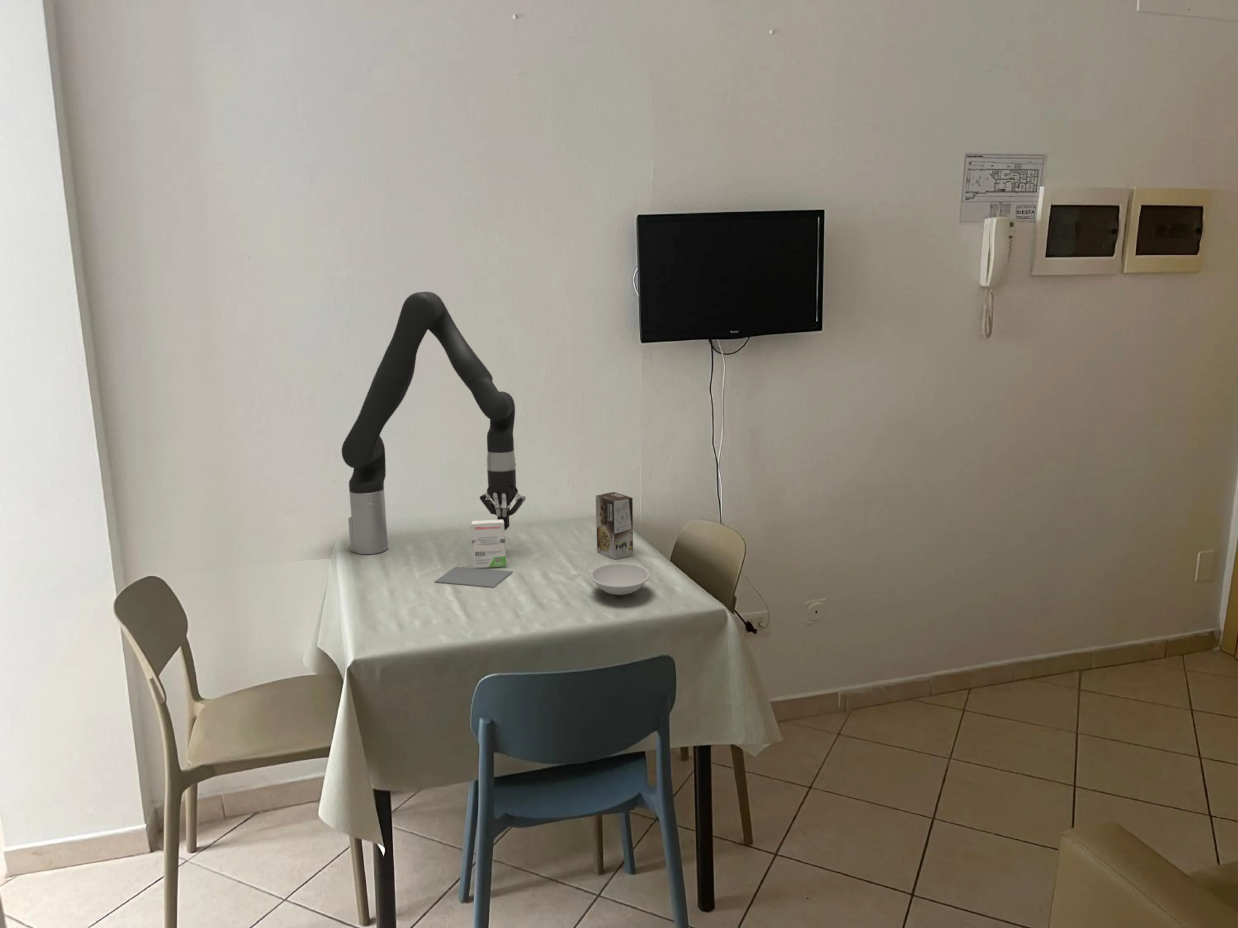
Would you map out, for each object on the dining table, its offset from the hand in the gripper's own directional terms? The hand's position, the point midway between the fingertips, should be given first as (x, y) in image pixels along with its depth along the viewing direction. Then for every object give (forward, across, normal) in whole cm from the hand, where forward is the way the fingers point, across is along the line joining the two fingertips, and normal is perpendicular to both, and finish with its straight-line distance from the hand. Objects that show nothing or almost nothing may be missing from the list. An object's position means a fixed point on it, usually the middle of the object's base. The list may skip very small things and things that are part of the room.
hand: (503, 529), depth 249 cm
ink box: (+7, 0, -10) cm, 12 cm away
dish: (+7, +39, -22) cm, 46 cm away
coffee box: (+7, +29, +8) cm, 31 cm away
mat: (+7, 0, -20) cm, 21 cm away
